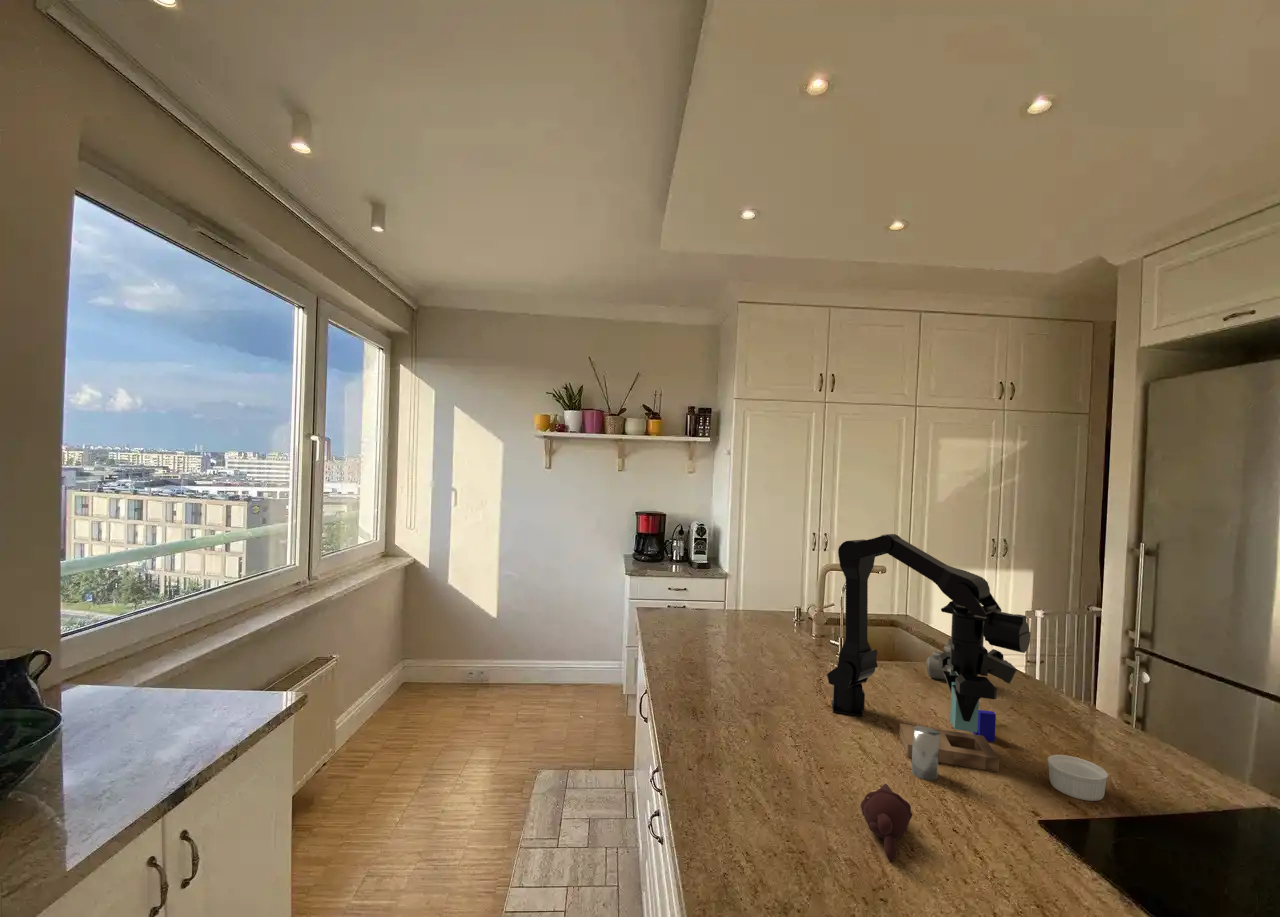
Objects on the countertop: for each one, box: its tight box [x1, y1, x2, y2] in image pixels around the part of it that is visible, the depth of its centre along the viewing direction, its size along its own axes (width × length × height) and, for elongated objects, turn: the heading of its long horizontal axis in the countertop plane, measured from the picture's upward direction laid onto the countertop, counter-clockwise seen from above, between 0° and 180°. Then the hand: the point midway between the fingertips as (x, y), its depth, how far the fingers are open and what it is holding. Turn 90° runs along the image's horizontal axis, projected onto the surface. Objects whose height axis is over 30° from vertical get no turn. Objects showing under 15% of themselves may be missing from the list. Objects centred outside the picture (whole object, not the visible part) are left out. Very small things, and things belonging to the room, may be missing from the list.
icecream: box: [860, 783, 913, 861], centre depth 92 cm, size 7×7×15 cm
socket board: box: [898, 723, 1000, 772], centre depth 120 cm, size 16×10×2 cm, turn 75°
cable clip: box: [972, 709, 997, 743], centre depth 132 cm, size 12×4×6 cm, turn 170°
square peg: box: [949, 682, 980, 733], centre depth 120 cm, size 4×4×8 cm
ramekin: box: [1046, 754, 1109, 802], centre depth 108 cm, size 9×9×4 cm
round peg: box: [910, 725, 939, 782], centre depth 111 cm, size 4×4×8 cm
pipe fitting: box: [925, 643, 951, 681], centre depth 162 cm, size 12×8×10 cm
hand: (963, 716), depth 120 cm, fingers closed on square peg, 4 cm apart
